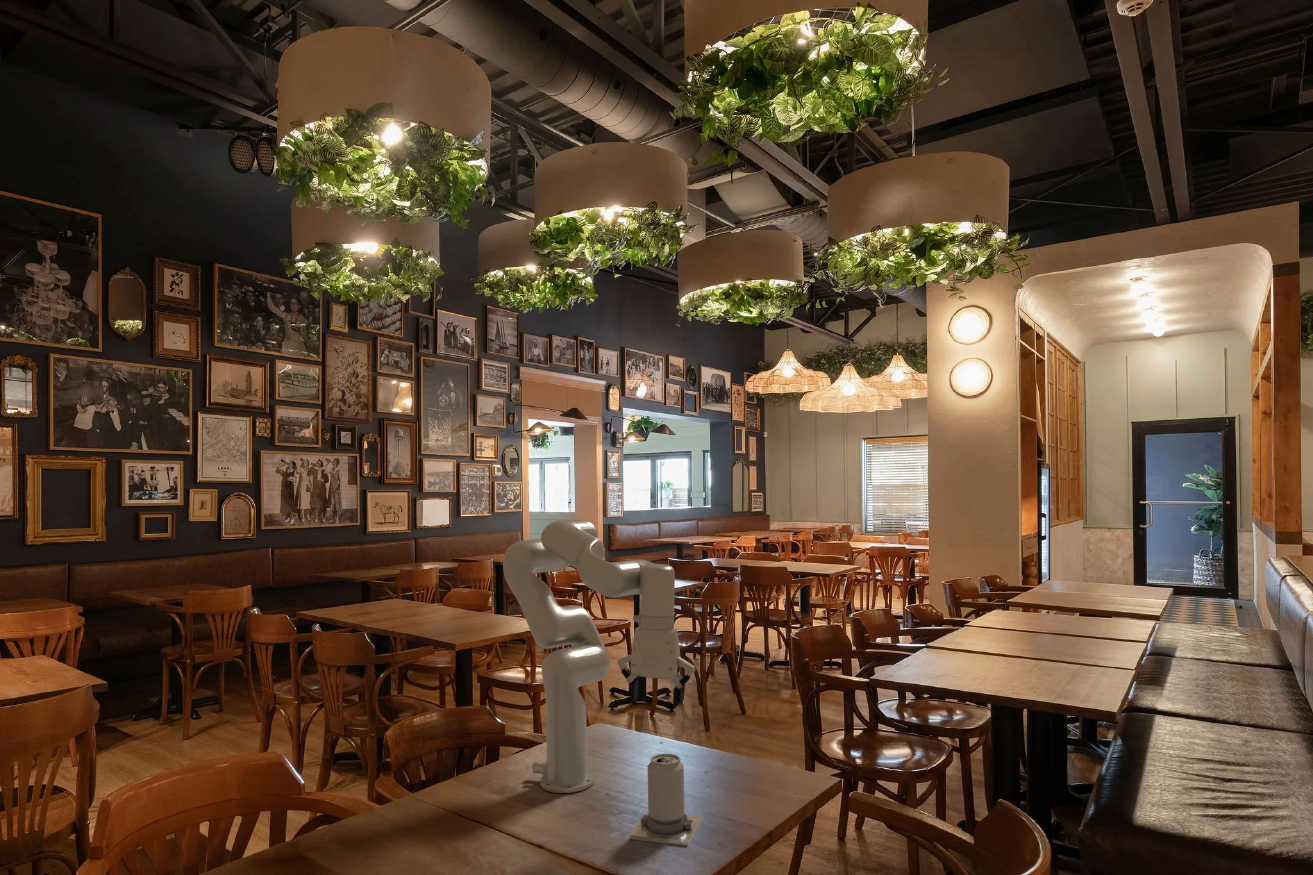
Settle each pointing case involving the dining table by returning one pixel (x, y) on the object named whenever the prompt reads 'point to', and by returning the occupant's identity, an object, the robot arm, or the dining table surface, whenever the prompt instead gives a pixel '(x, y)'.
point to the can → (666, 788)
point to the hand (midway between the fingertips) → (655, 702)
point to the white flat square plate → (667, 830)
